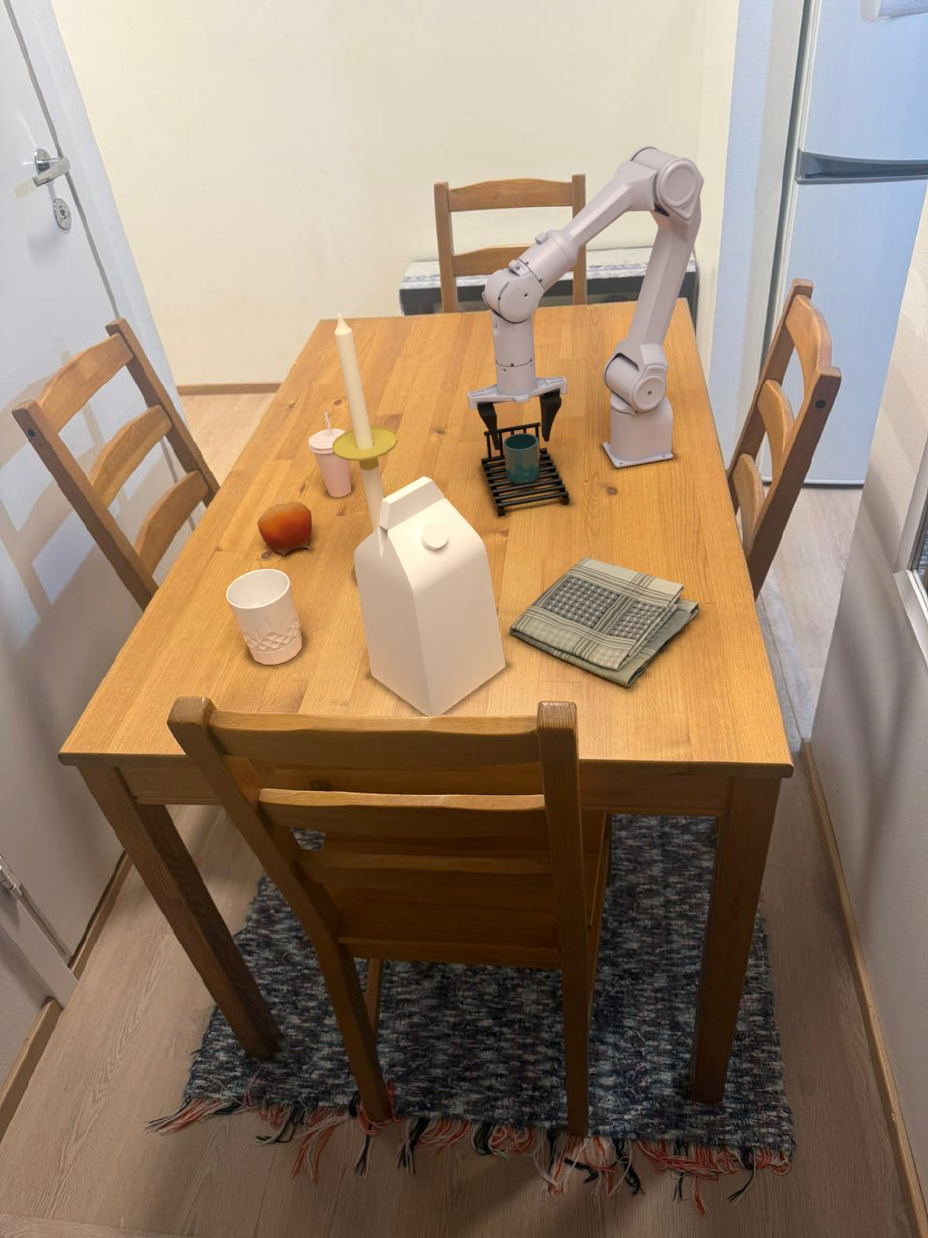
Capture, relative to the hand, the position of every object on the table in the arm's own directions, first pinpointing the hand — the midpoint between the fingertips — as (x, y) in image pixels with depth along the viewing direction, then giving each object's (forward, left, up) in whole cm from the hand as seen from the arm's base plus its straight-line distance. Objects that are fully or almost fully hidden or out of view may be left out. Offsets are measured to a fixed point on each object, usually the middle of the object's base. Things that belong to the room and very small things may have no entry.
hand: (521, 442), depth 134 cm
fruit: (+37, +5, -8) cm, 38 cm away
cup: (0, 0, -6) cm, 6 cm away
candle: (+23, +16, -8) cm, 29 cm away
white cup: (+39, +29, -8) cm, 49 cm away
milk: (+19, +39, -8) cm, 44 cm away
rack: (0, 0, -8) cm, 8 cm away
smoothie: (+29, -8, -8) cm, 31 cm away
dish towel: (-3, +36, -8) cm, 37 cm away
